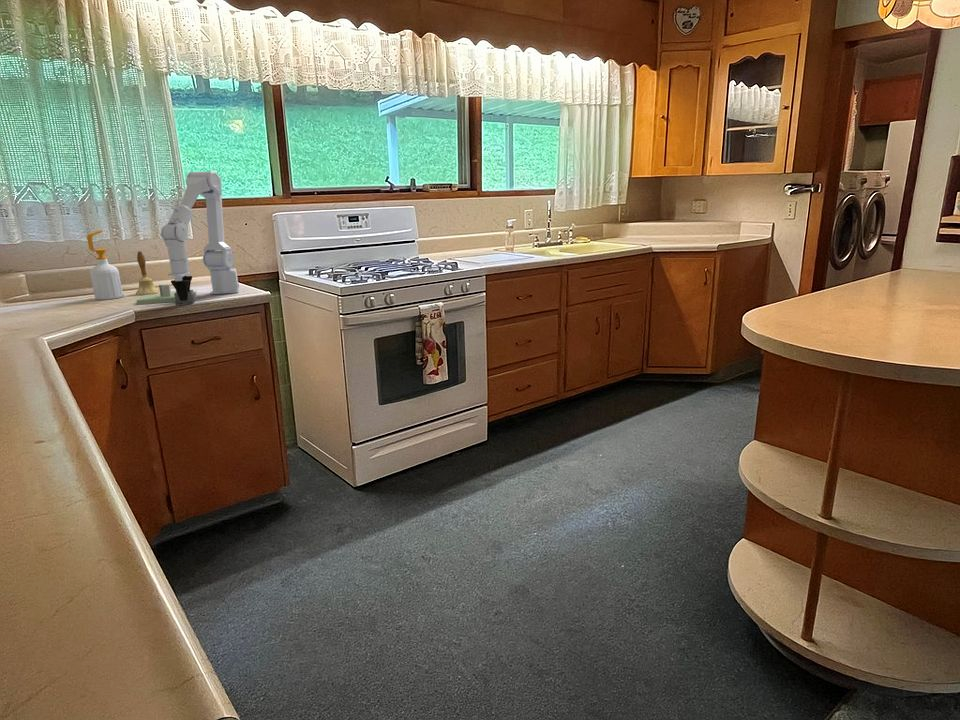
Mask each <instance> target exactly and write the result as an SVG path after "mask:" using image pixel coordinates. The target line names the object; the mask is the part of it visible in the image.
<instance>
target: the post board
mask: <svg viewBox="0 0 960 720" xmlns="http://www.w3.org/2000/svg"><path fill="white" fill-rule="evenodd" d="M158 290H159V291H160V292H159V293H156V294H150V295H140V296H139V297H138V298H137V299H136V304H137V305H146V304H147V305H148V304H161V303H163V304H164V303H173V302H175V303H176V301H175V295H174V293H175V292H172V290H171V283H164V284H159V285H158ZM197 296H198V295H197V291H194V298H195V299H196V298H197Z"/></svg>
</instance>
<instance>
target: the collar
mask: <svg viewBox="0 0 960 720" xmlns="http://www.w3.org/2000/svg"><path fill="white" fill-rule="evenodd" d="M194 292H195V291H194V289H190V290H187V294H188V297H187V300H185V301H180V299H179V296H178V294H177V291H176V290H175V292H173V293H174V295H175V301H176V302H175V305H176V306H177V305H179V306H181V305H192V304H194V303H195V302H194V301H196V297H195V298H194Z"/></svg>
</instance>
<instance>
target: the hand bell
mask: <svg viewBox="0 0 960 720" xmlns="http://www.w3.org/2000/svg"><path fill="white" fill-rule="evenodd" d="M136 258H137V259H136V261H137V264H138V266H139V268H140V271H141V278H140V279H138V289H137V291H136V292H135V295H136V296H142V295H155V294H160V289H159V288H156V286H155V284H154V283H153V279H152V278H151V277H150V278H149V276H148V274H147V270H146V257H145V256H144V254H143V252H142V251H137V256H136Z"/></svg>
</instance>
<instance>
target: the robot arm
mask: <svg viewBox="0 0 960 720" xmlns="http://www.w3.org/2000/svg"><path fill="white" fill-rule="evenodd" d="M185 185H186V188H185V191H184V194H183V197H182V200H181V202H180V204H179V205H176V206H175V207H174V208H173V211H172V213H171V216H170V218H169V220H168V222H167V223H166V224H164V225H163V226H162V227H161V230H160V237H161V238H162V240H163V241H164V245H165V246H166V248H167V256H168V260H169V265H170V271H171V272H168V273H167V276H172V277H173V278H174V279H172V280H171V281H170V284H171V285H172V286H173V288H174V290H175V292H176V291H177V294H178V296H179V299H180V301H185V300H187V297H188V294H187V290H191V285H192V284H191V283H192V279H193V276H192V275H191V274H192V273H191V271H190V264H189V259H188V252H187V246H186V240H187V238H188V236H189V225H190V222H191V220H192V216H193V211H192V208H193V207H194V204H195V203H196V201H197V199H198V198H199V196H202V197H203V198H204V199H205V204H206V220H207V234H208V235H207V236H208V242H207V244H206V245H205V246H204V247H203V254H202V255H203V256H202V262H203V264H204V266H205V267H206V268H207V271H208V270H209V275H210V281H211V288H212V291H211V293H210V294H211V295H220V294H221V295H222V294H235V293H239V290H240V284H239V279H238V274H237V273H238V272H237V269H236V268H234V267H233V265H234V263H235V258H234V254H233V251H232V249H233V248H232V247H231V246H229V245H228V244H227V243H225V230H224V229H225V228H224V217H223V216H224V215H223V199H222V194H223V193H222V191H223V190H222V178H221V176H219V174H218V173H217V172H216V171H215V170H210V171H190V172H188V173H187V176H186V179H185ZM232 267H233V268H232Z"/></svg>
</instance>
